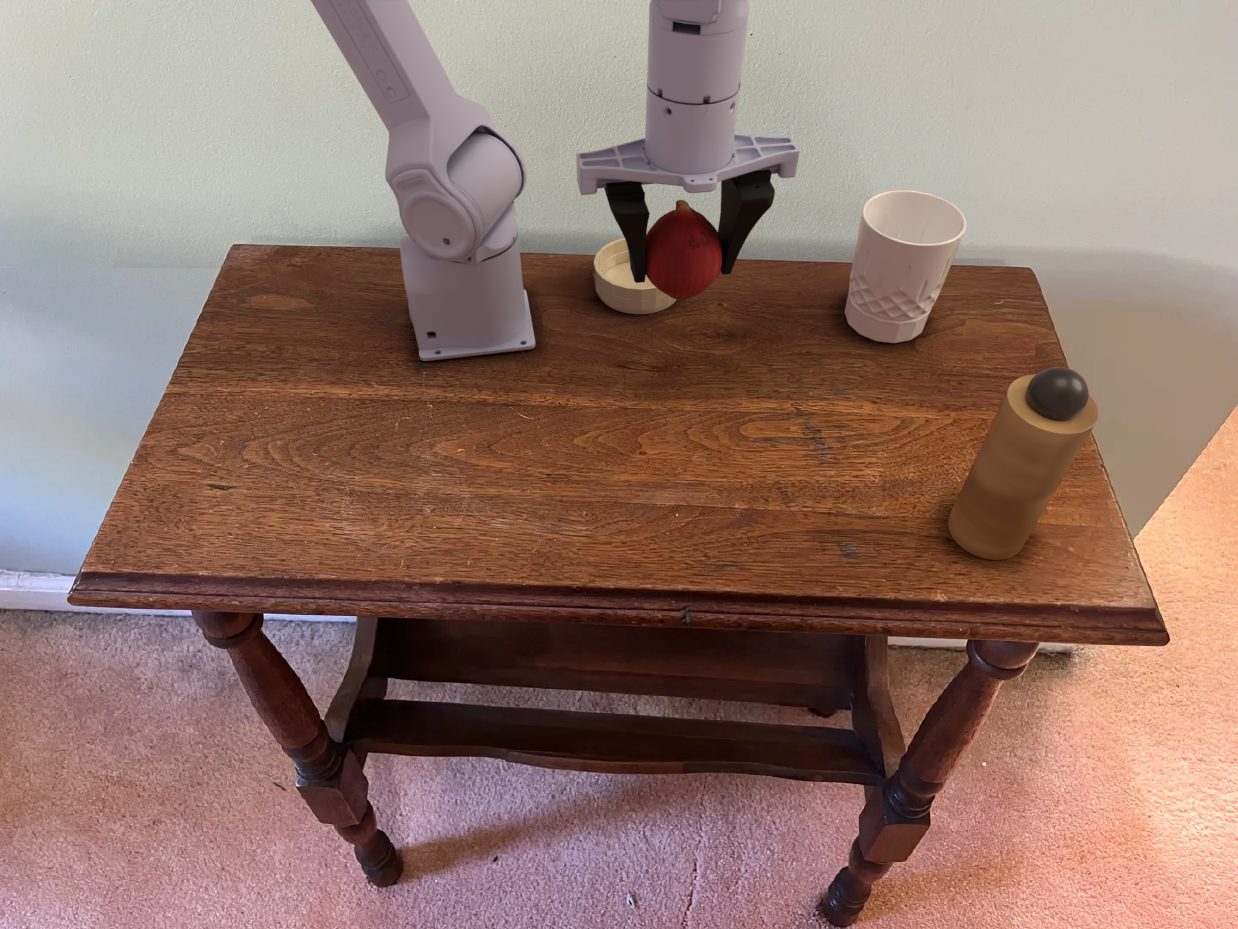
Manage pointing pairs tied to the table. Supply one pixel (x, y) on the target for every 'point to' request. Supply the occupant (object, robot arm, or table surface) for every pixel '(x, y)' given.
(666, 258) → the onion
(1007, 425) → the pepper mill
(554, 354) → the table surface
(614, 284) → the bowl
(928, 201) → the white cup
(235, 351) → the table surface
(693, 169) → the robot arm
